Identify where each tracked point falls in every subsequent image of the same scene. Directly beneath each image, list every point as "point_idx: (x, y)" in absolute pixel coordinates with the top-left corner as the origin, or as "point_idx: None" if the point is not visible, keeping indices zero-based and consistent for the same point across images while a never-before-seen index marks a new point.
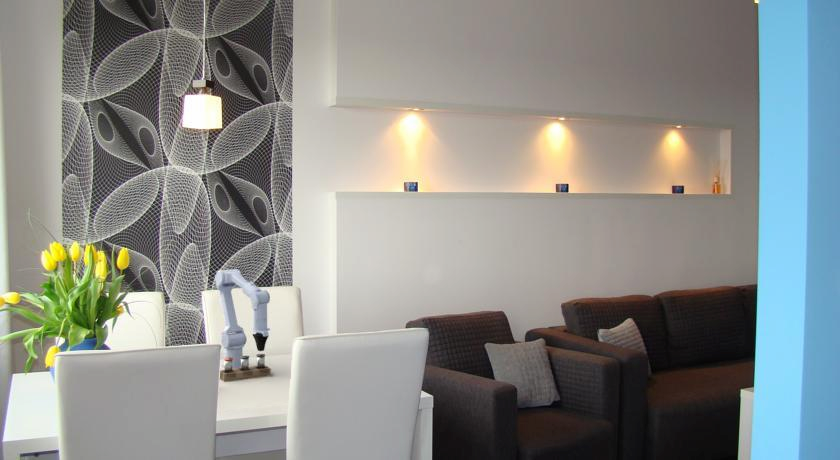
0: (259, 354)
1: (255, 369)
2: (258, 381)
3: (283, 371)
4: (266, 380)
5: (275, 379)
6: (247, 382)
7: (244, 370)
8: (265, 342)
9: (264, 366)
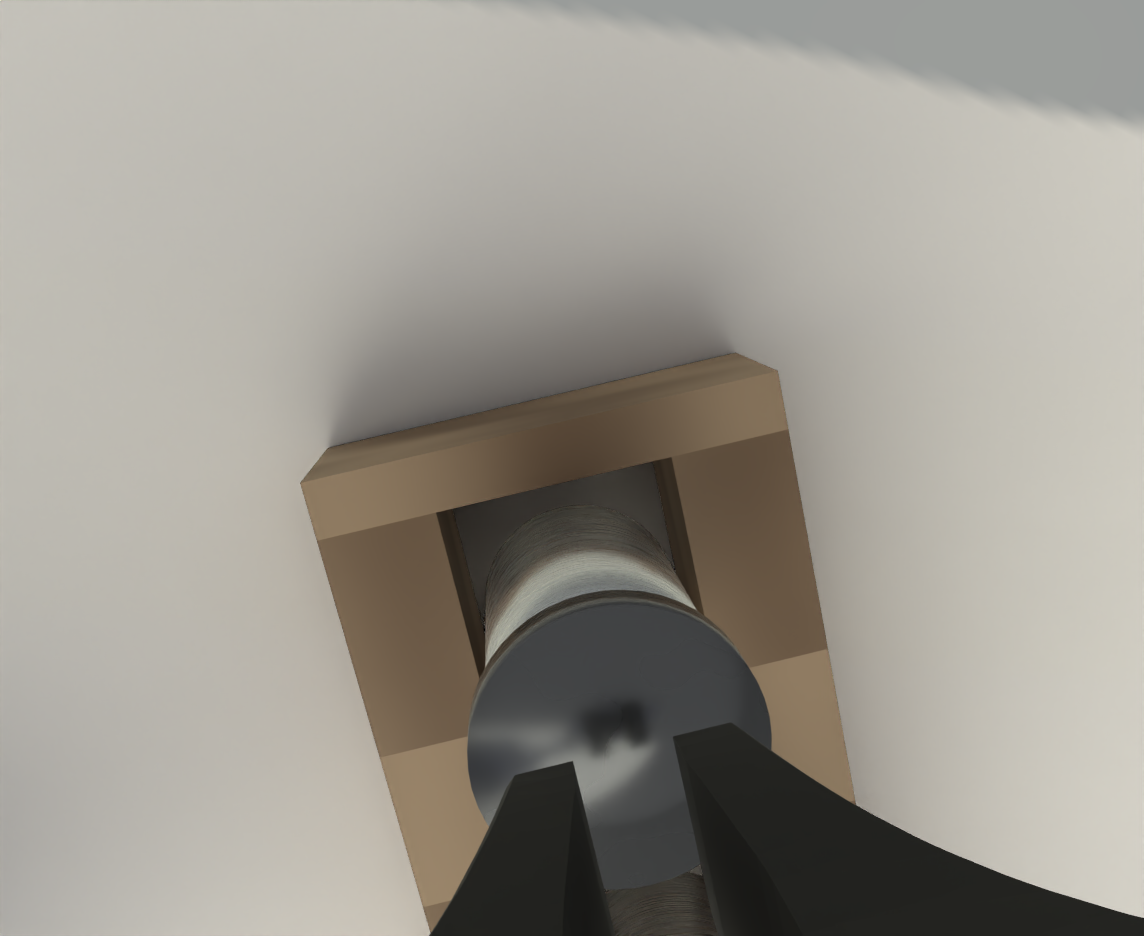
0: None
1: None
2: (1124, 634)
3: (403, 6)
4: (1111, 480)
5: (1105, 293)
6: (1113, 825)
7: None
8: (970, 876)
9: (625, 522)
